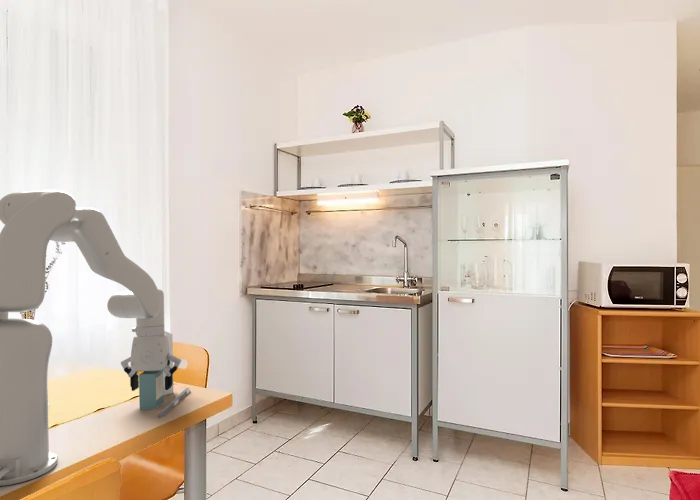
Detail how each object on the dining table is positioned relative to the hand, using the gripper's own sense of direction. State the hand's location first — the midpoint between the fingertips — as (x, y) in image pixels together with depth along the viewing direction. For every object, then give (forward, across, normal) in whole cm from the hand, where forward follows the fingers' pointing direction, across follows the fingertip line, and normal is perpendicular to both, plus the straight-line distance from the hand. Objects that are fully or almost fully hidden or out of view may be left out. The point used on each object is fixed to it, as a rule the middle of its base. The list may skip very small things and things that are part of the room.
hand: (151, 389), depth 130 cm
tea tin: (+5, 0, 0) cm, 5 cm away
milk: (+5, -2, +11) cm, 12 cm away
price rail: (+5, +6, +1) cm, 8 cm away
